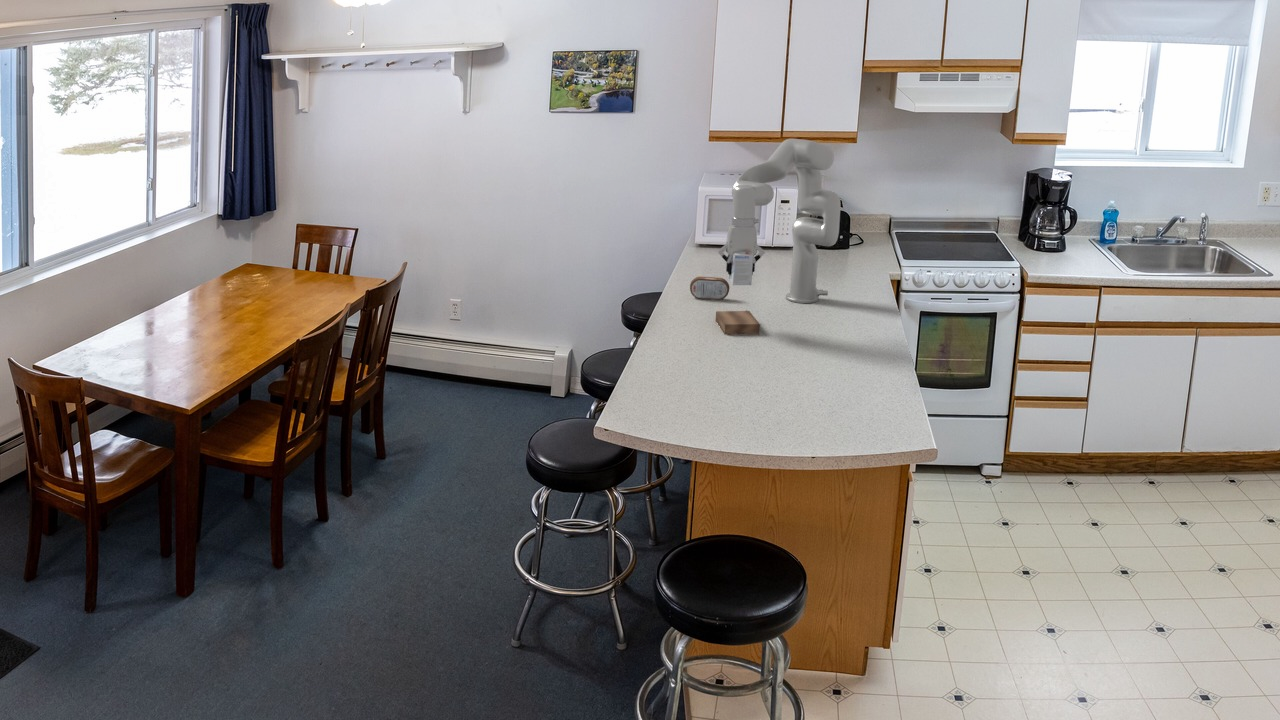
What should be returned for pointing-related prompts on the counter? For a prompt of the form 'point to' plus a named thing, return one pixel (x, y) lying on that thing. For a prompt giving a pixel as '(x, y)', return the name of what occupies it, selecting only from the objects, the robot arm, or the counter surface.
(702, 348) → the counter surface
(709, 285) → the tin
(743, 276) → the light bulb box
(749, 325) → the walnut block
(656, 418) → the counter surface
